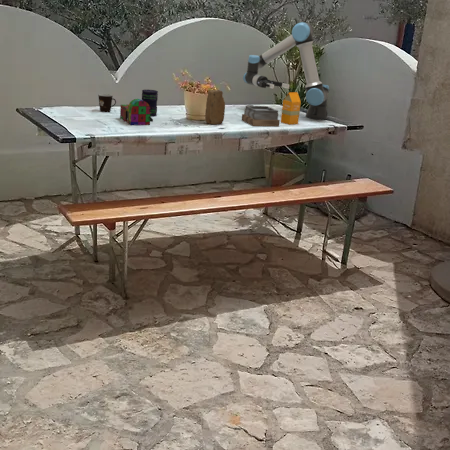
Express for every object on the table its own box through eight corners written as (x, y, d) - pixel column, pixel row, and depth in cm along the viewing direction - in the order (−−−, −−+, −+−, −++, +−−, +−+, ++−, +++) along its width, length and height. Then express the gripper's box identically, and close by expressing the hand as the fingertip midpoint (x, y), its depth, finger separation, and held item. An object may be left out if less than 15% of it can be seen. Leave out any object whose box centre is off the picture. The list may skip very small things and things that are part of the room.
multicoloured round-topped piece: (158, 125, 347) (159, 100, 342) (130, 125, 339) (131, 100, 334) (144, 116, 367) (145, 93, 363) (117, 116, 360) (117, 93, 355)
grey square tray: (241, 120, 384) (243, 105, 381) (266, 120, 391) (268, 106, 387) (252, 126, 369) (254, 110, 365) (278, 126, 375) (280, 111, 372)
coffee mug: (95, 110, 372) (95, 94, 368) (108, 109, 377) (108, 93, 373) (104, 113, 363) (104, 97, 360) (116, 113, 368) (117, 97, 365)
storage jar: (137, 114, 371) (138, 90, 366) (148, 112, 379) (149, 89, 374) (149, 117, 366) (150, 92, 361) (160, 115, 374) (161, 91, 368)
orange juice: (298, 123, 390) (302, 92, 383) (289, 124, 384) (293, 93, 377) (289, 121, 395) (293, 90, 388) (280, 122, 389) (284, 91, 382)
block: (208, 124, 360) (211, 91, 353) (203, 122, 367) (206, 89, 360) (224, 124, 365) (227, 91, 358) (219, 122, 371) (222, 89, 364)
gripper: (273, 86, 414) (294, 92, 398) (245, 86, 399) (266, 92, 384) (275, 75, 411) (296, 81, 396) (246, 75, 396) (267, 80, 381)
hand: (281, 86), depth 390 cm, fingers open, 13 cm apart
